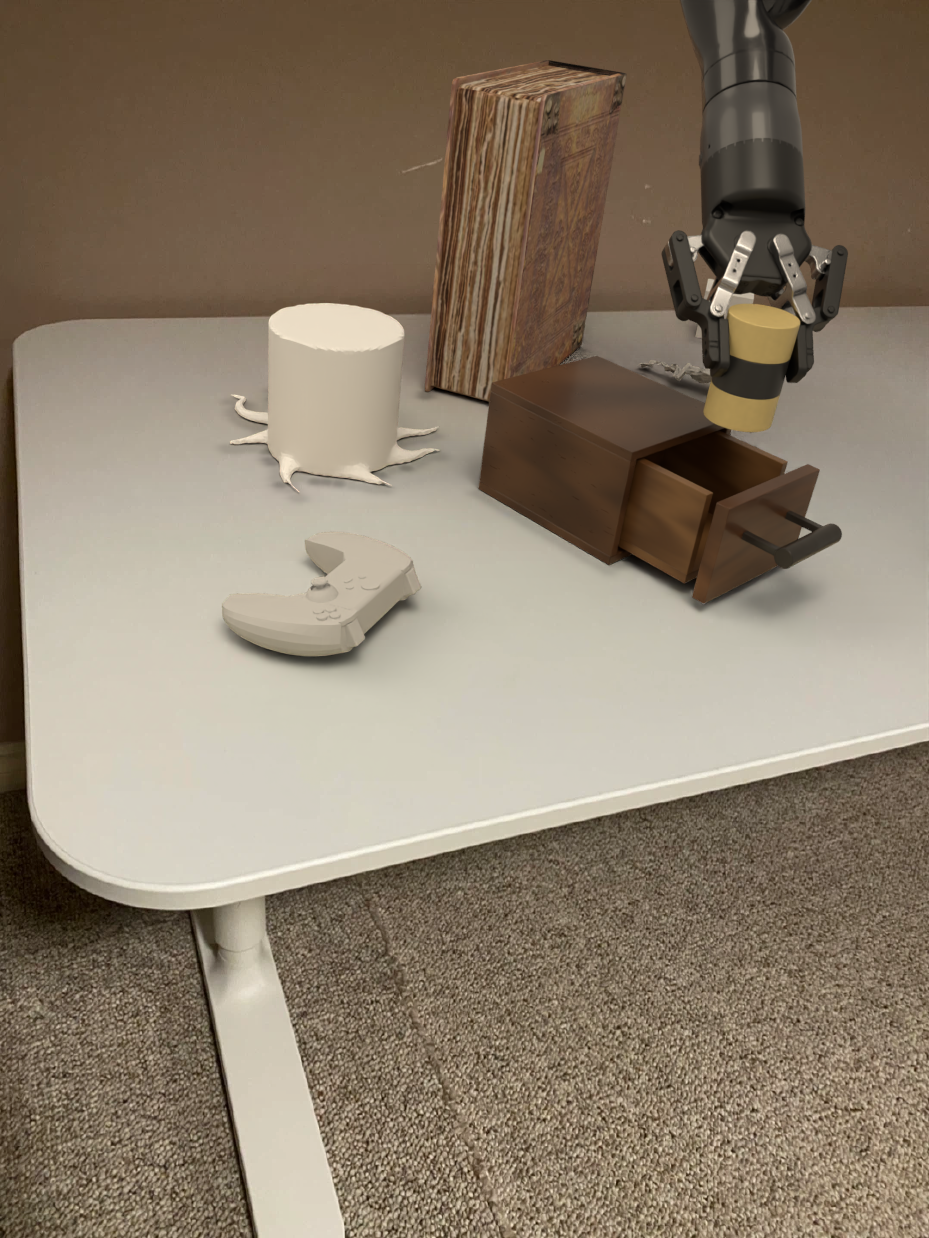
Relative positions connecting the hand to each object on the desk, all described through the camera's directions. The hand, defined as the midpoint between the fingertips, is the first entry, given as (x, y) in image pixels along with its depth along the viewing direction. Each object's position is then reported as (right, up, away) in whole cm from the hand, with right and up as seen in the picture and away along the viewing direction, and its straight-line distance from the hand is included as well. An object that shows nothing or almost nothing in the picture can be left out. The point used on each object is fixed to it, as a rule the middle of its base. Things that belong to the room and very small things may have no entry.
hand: (759, 375), depth 79 cm
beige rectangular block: (+12, +19, +62) cm, 66 cm away
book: (-16, +11, +44) cm, 48 cm away
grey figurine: (+5, +8, +45) cm, 46 cm away
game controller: (-31, -18, -1) cm, 36 cm away
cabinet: (-10, -8, +18) cm, 22 cm away
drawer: (-2, -12, +11) cm, 16 cm away
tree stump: (-35, -1, +23) cm, 42 cm away
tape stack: (-1, -2, +4) cm, 5 cm away
